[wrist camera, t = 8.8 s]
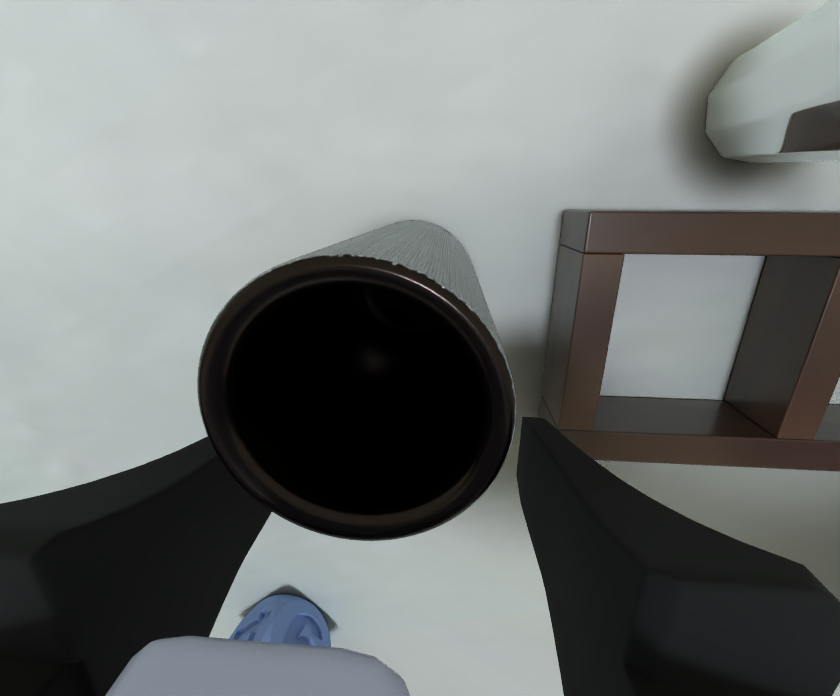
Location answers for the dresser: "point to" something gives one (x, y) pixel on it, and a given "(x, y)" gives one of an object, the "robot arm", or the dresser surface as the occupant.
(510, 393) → the grey hollow cylinder
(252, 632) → the decorative dice
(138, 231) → the dresser surface
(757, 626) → the robot arm
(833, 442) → the holder
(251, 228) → the dresser surface
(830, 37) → the milkshake
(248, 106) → the dresser surface
